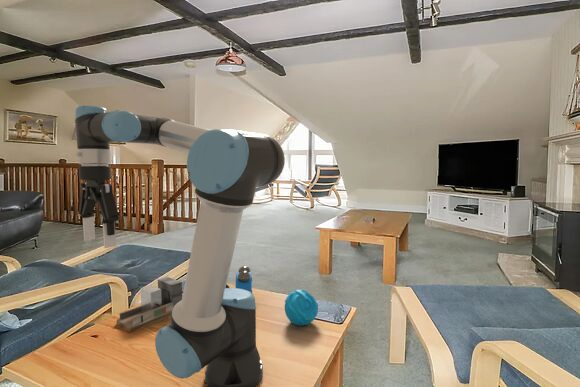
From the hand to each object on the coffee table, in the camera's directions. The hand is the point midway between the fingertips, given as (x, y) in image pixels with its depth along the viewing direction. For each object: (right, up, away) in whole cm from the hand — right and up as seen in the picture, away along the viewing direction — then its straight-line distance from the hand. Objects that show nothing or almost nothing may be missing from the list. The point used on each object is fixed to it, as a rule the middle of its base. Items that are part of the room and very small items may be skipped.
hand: (99, 243), depth 91 cm
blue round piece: (+56, -32, +25) cm, 70 cm away
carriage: (+3, -30, +29) cm, 42 cm away
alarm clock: (+35, -31, +40) cm, 61 cm away
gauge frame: (+2, -32, +30) cm, 44 cm away
